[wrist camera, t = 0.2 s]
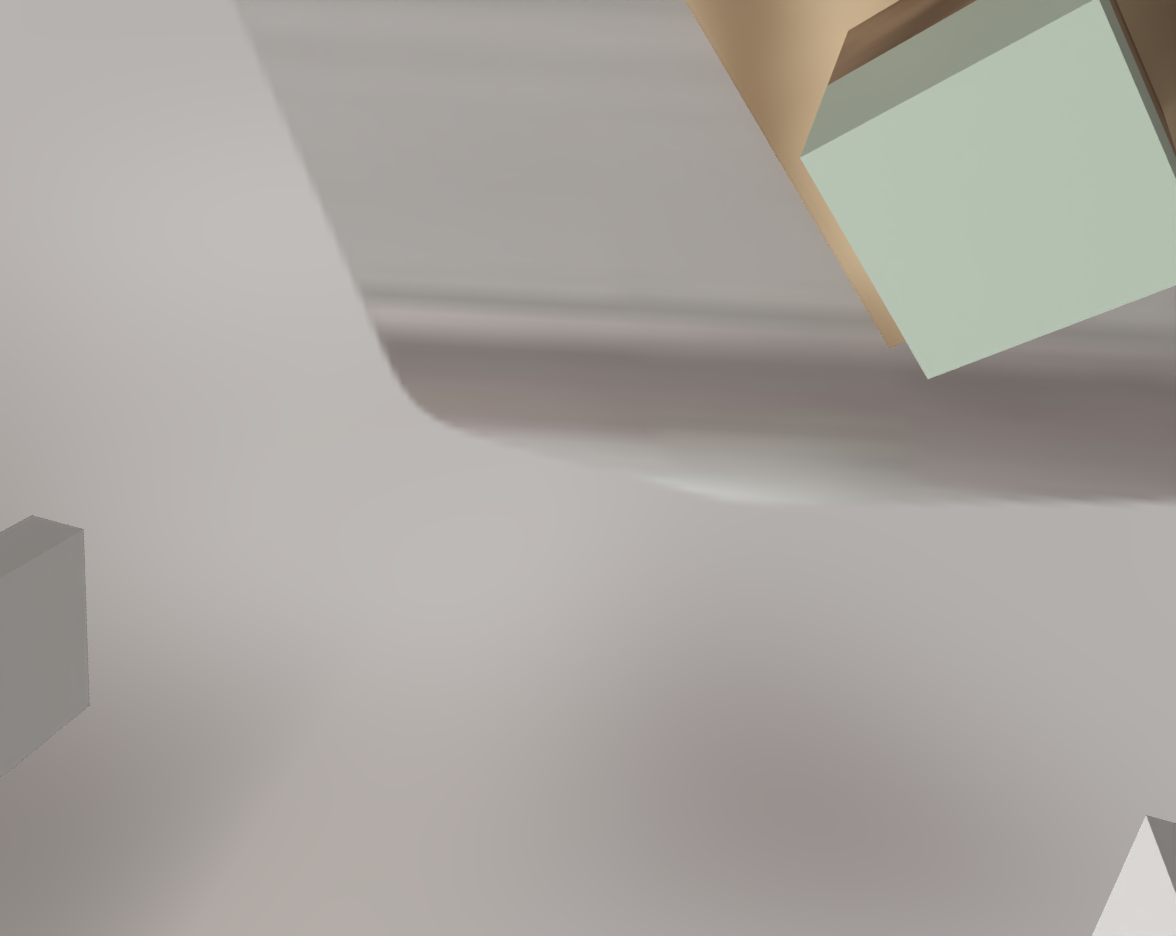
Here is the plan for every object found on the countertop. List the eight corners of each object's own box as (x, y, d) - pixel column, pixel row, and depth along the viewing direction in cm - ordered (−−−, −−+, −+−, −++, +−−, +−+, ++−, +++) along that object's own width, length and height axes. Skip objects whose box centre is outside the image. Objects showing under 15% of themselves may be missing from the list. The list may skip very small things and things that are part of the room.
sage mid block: (1083, -61, 24) (1097, -3, 20) (1185, 178, 27) (1214, 270, 23) (827, 85, 28) (799, 157, 24) (937, 285, 30) (928, 379, 26)
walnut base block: (1072, -104, 28) (1083, -61, 24) (1162, 110, 30) (1185, 178, 27) (848, 30, 32) (827, 85, 28) (944, 212, 34) (937, 285, 30)
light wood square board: (1170, -356, 25) (1175, -356, 24) (1346, 146, 30) (1355, 159, 30) (685, -22, 33) (677, -13, 32) (891, 333, 38) (889, 348, 37)
